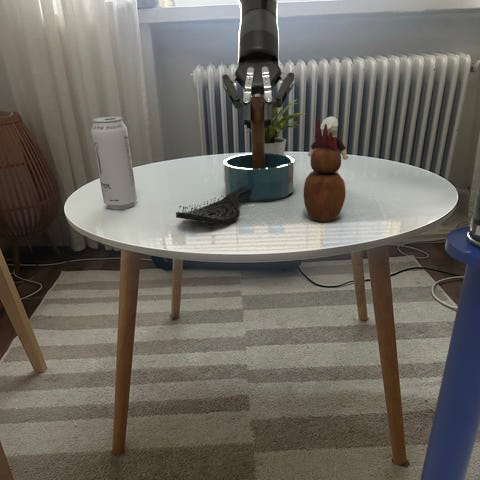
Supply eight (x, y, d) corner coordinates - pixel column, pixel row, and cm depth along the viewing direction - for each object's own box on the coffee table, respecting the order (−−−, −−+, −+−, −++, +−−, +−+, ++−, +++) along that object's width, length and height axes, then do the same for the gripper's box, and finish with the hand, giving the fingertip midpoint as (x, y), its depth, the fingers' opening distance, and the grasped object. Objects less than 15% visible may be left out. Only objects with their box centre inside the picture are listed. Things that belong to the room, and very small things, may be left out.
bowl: (303, 187, 97) (304, 155, 94) (275, 206, 87) (275, 171, 84) (245, 180, 103) (244, 151, 100) (212, 198, 93) (210, 165, 90)
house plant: (258, 182, 101) (257, 96, 93) (223, 170, 112) (219, 91, 103) (312, 171, 108) (315, 89, 100) (274, 160, 118) (274, 85, 110)
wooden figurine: (297, 215, 83) (299, 119, 75) (327, 210, 85) (332, 116, 77) (317, 227, 77) (322, 126, 70) (348, 221, 79) (357, 122, 71)
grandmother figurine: (345, 182, 99) (350, 114, 93) (345, 187, 96) (351, 118, 90) (307, 181, 101) (309, 115, 94) (306, 186, 97) (308, 118, 91)
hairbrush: (281, 179, 92) (206, 210, 73) (281, 198, 93) (208, 234, 74) (243, 175, 95) (162, 204, 76) (243, 194, 97) (164, 227, 78)
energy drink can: (102, 203, 93) (87, 118, 85) (134, 198, 94) (122, 115, 87) (107, 212, 88) (91, 122, 80) (140, 207, 89) (128, 119, 82)
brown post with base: (274, 183, 97) (275, 96, 87) (263, 191, 94) (262, 102, 84) (254, 180, 99) (252, 94, 89) (242, 187, 96) (239, 99, 86)
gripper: (219, 29, 88) (216, 112, 84) (297, 26, 87) (298, 110, 83) (223, 61, 95) (220, 139, 91) (295, 58, 95) (296, 137, 90)
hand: (257, 124), depth 87 cm, fingers closed on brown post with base, 2 cm apart
